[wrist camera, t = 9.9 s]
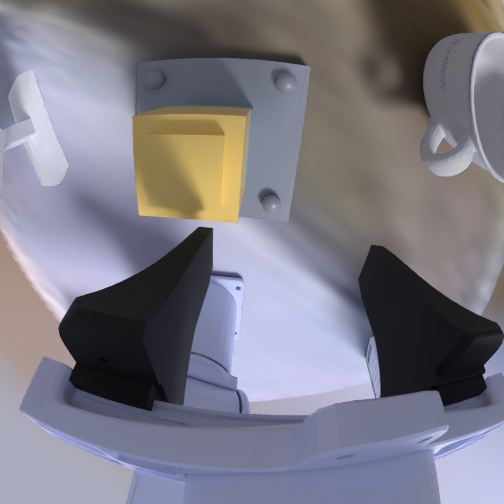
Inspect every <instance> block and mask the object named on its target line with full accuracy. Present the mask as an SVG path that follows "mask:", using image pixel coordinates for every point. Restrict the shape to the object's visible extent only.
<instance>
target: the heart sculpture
mask: <svg viewBox="0 0 504 504" xmlns="http://www.w3.org/2000/svg"><path fill="white" fill-rule="evenodd" d="M8 101H9V104H10V107H11V111H12V114H13V117H14V120H15V123H16V124H14V125H12V126H9V127H7V128H4V129H1V128H0V196H1V188H2V172H3V153H4V152H6V151H7V150H9V149H12V148H14V147H16V146H18V145H20V144H22V143H23V144H24V147H25V149H26V152H27V154H28V157H29V159H30V161H31V164H32V166H33V168H34V170H35V172H36V175H37V177H38V179H39V181H40V183H41V185H42V186H56V185H59V184H60V183H61V181H62V180H63V178H64V176H65V174H66V172H67V170H68V167H69V164H68V162H67V159H66V157H65V155H64V153H63V150H62V148H61V146H60V144H59V141H58V139H57V136H56V134H55V131H54V129H53V126H52V124H51V121H50V119H49V116H48V113H47V111H46V108H45V105H44V102H43V99H42V96H41V93H40V90H39V87H38V84H37V81H36V77H35V74H34V70H33V69H31V70H27V71H25V72H23V73H21V74H20V75H18V76H17V78H16V79H15V81H14V83H13V85H12V87H11V89H10V92H9V95H8Z"/></svg>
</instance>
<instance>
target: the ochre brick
mask: <svg viewBox="0 0 504 504" xmlns="http://www.w3.org/2000/svg"><path fill="white" fill-rule="evenodd" d="M250 116H251V109H250V108H236V107H215V106H167V107H163V108H159V109H155V110H152V111H148V112H144V113H141V114H138V115H134V116H133V150H134V167H135V180H136V191H137V201H138V210H139V215H141V216H156V217H170V218H183V219H195V220H208V221H219V222H230V223H238V218H239V213H240V208H241V202H242V197H243V192H244V185H245V173H246V161H247V149H248V138H249V127H250Z"/></svg>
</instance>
